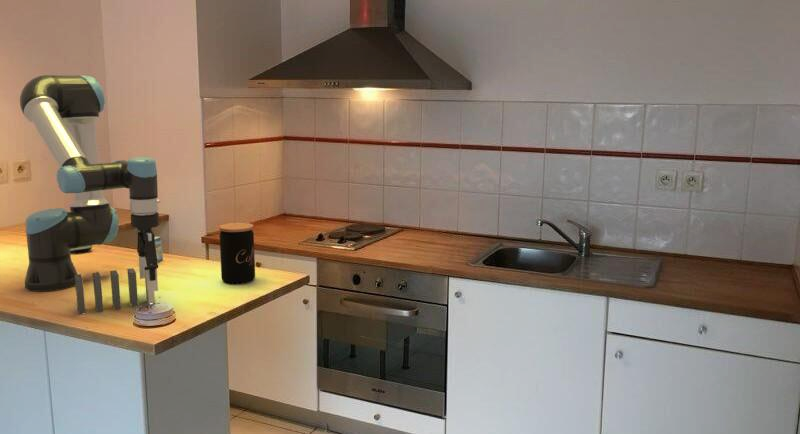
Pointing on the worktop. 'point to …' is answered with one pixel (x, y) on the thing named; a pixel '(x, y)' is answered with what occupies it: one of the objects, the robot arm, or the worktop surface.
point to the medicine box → (158, 249)
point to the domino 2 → (98, 291)
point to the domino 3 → (115, 289)
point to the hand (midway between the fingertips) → (148, 284)
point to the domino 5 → (149, 295)
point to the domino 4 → (132, 287)
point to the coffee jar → (237, 253)
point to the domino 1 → (80, 294)
